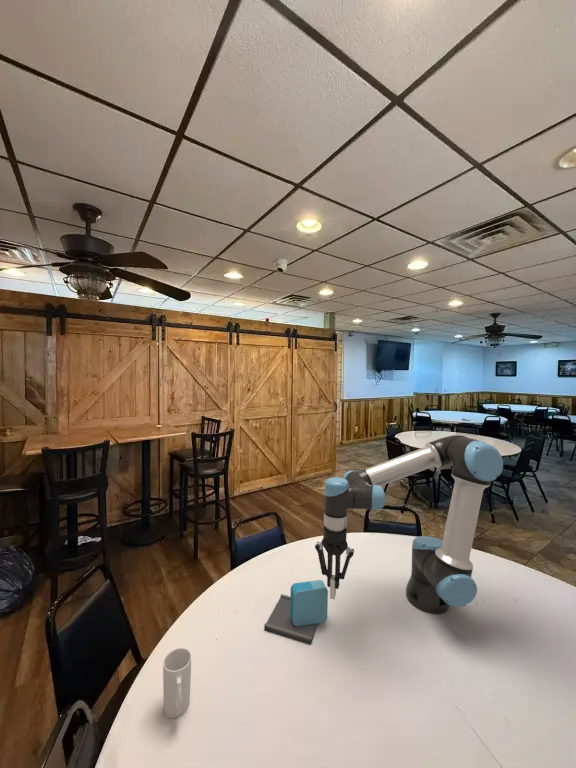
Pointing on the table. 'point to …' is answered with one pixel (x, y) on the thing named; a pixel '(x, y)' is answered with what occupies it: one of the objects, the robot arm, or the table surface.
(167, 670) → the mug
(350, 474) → the robot arm
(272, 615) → the dark gray square slab
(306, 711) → the table surface
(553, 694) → the table surface
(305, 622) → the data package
